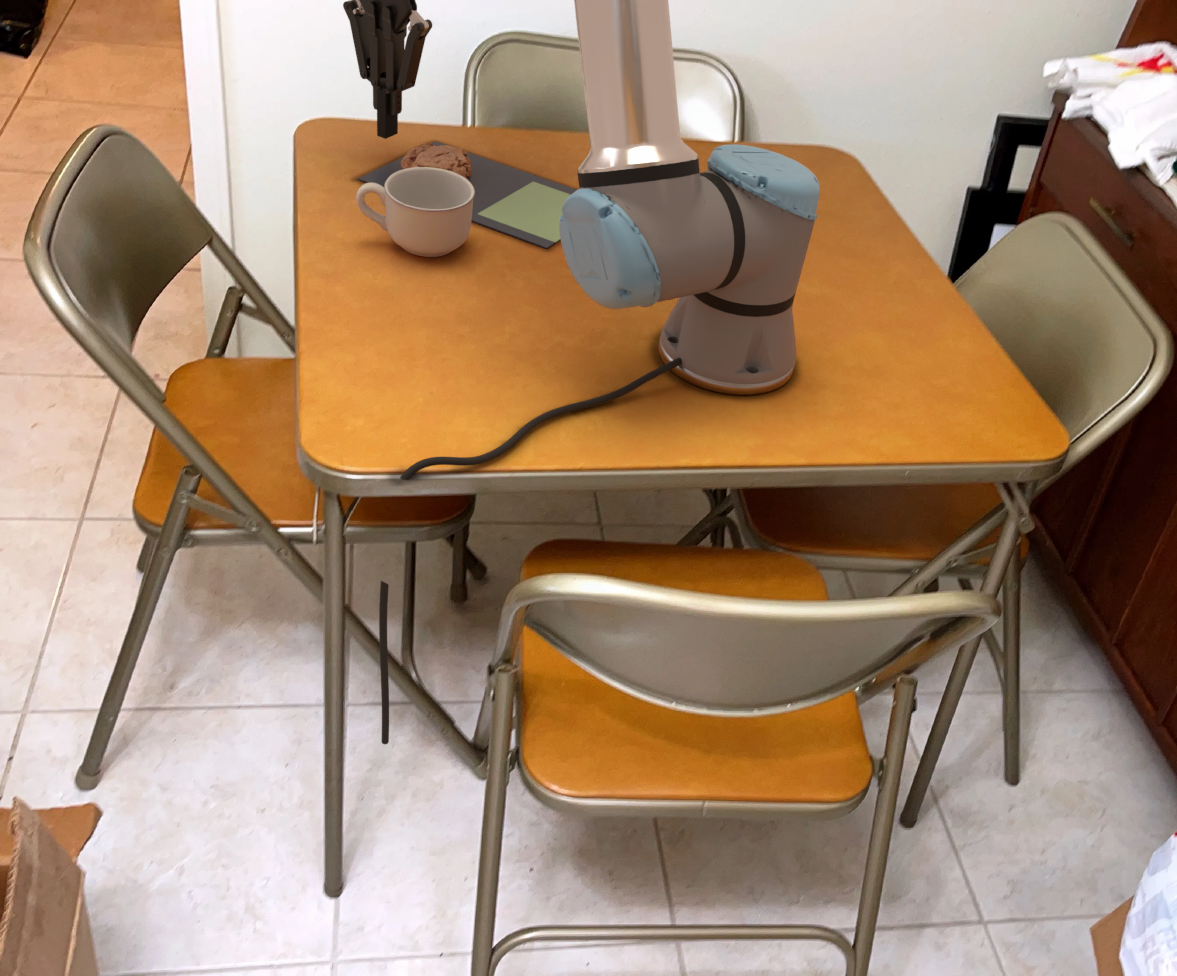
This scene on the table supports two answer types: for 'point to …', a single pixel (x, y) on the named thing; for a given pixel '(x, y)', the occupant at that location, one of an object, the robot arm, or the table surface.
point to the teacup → (423, 209)
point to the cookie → (438, 159)
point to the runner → (506, 199)
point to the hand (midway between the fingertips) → (387, 134)
